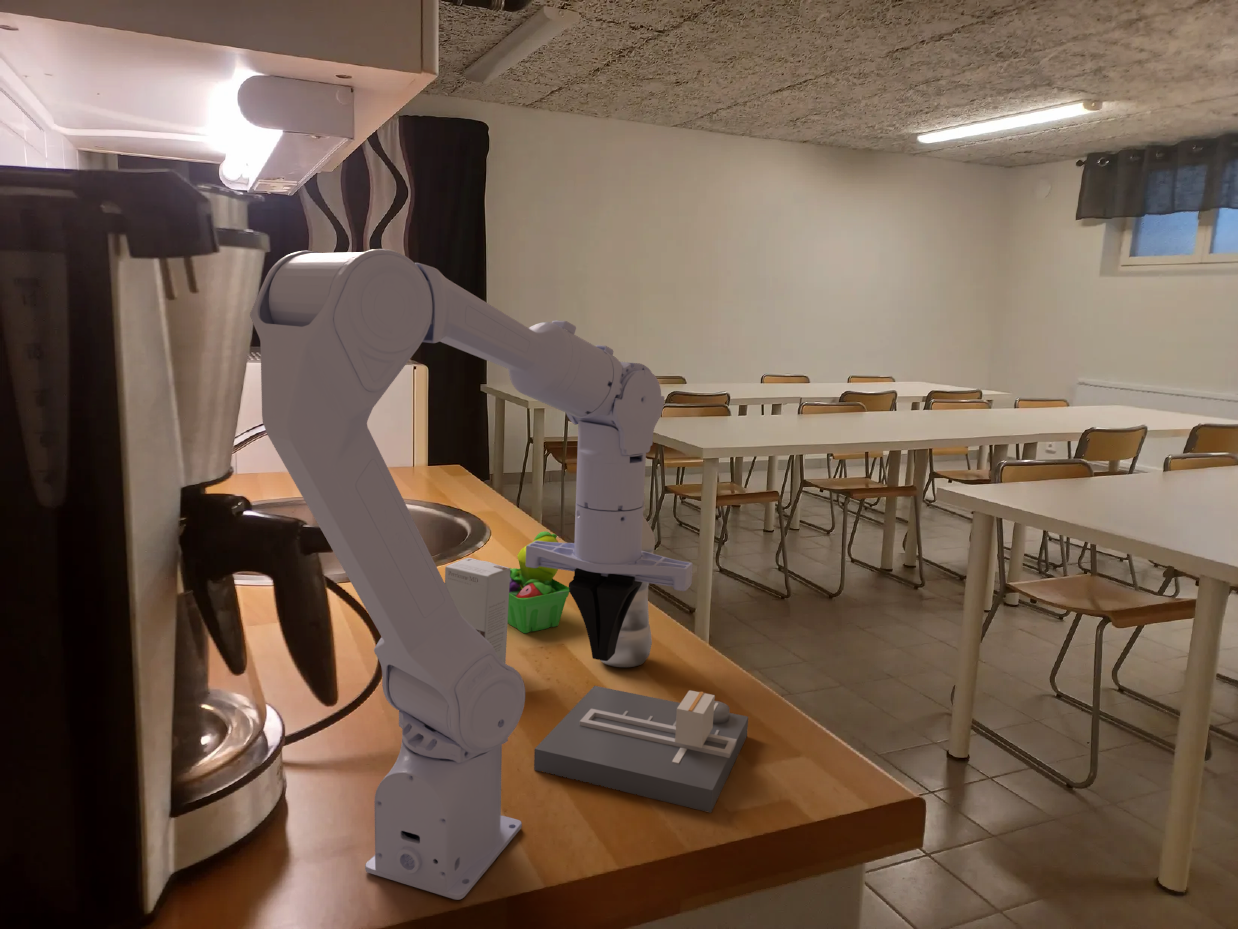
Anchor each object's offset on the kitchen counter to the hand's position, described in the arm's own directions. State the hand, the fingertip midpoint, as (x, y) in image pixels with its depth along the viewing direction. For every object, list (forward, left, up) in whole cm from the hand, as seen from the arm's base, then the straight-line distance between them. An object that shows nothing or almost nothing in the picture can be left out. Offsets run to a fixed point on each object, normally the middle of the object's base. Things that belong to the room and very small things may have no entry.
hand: (603, 655), depth 75 cm
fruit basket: (+30, +22, -11) cm, 39 cm away
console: (+4, -3, -10) cm, 12 cm away
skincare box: (+13, +20, -11) cm, 26 cm away
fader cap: (+4, -7, -8) cm, 12 cm away
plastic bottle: (+22, +6, -11) cm, 25 cm away
